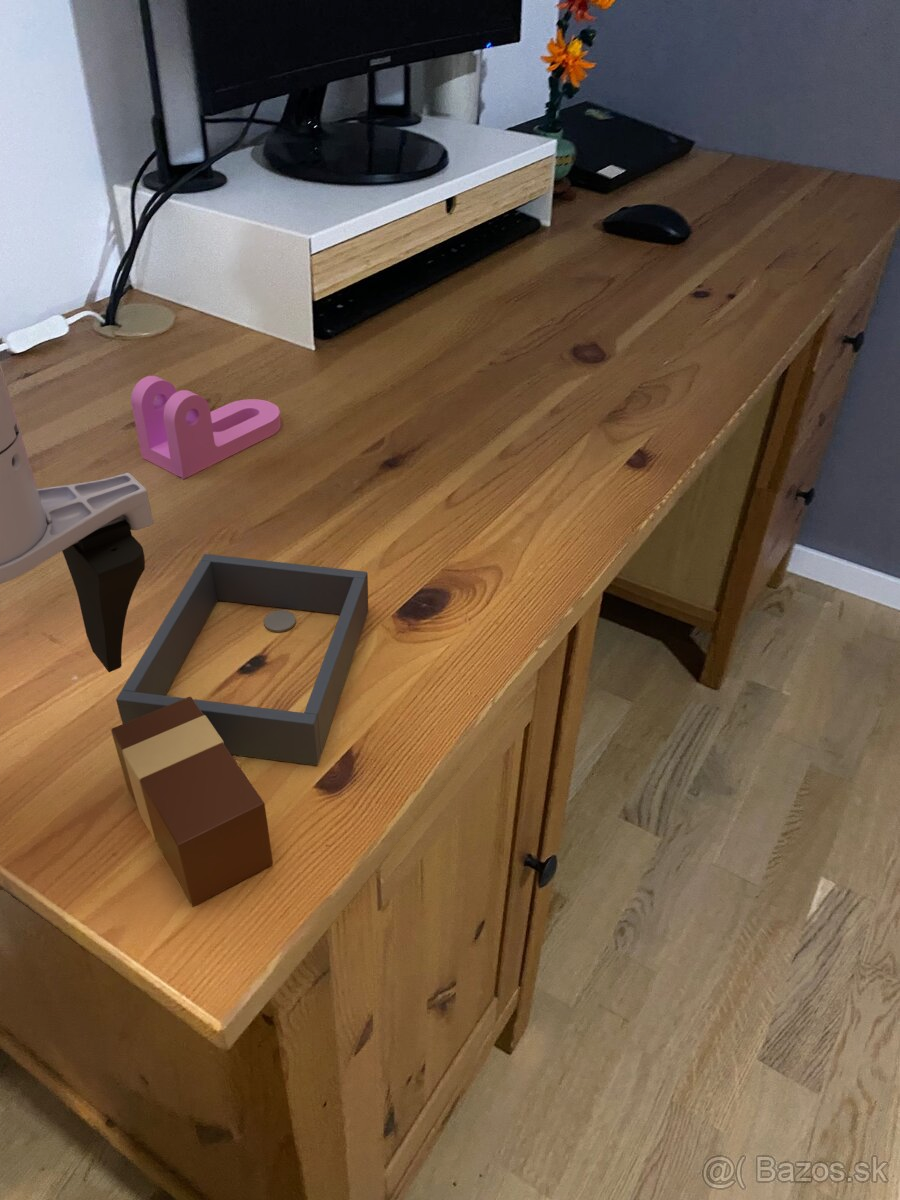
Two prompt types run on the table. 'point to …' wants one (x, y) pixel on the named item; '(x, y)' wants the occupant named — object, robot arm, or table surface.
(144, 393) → the bracket
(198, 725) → the brown tan banded block
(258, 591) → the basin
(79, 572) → the robot arm
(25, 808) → the table surface
